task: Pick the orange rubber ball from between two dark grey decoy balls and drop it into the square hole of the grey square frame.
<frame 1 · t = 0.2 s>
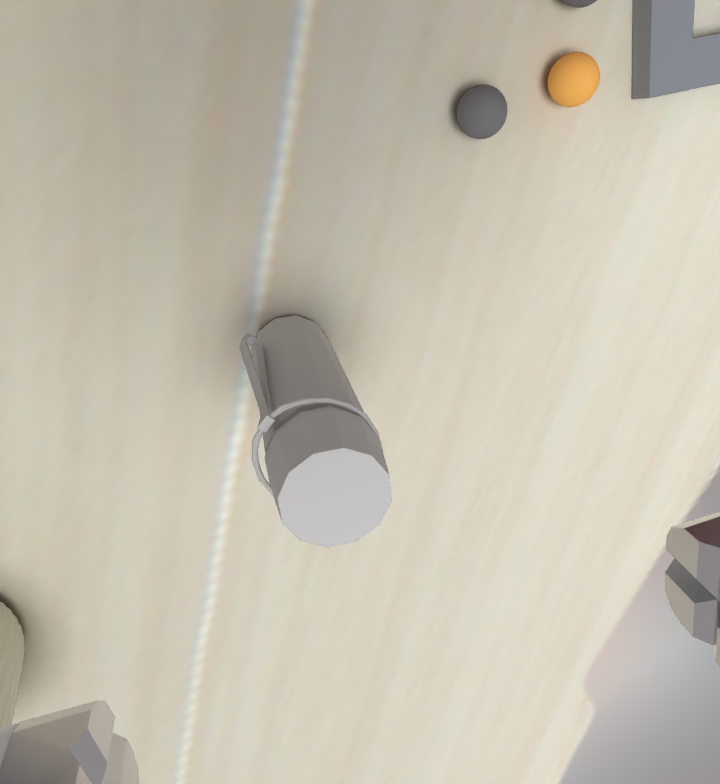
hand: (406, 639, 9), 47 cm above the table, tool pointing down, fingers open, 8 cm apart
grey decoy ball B: (481, 112, 50), point 2 cm above the table
water bottle: (282, 343, 57), on the table
orange ball: (573, 79, 51), point 2 cm above the table
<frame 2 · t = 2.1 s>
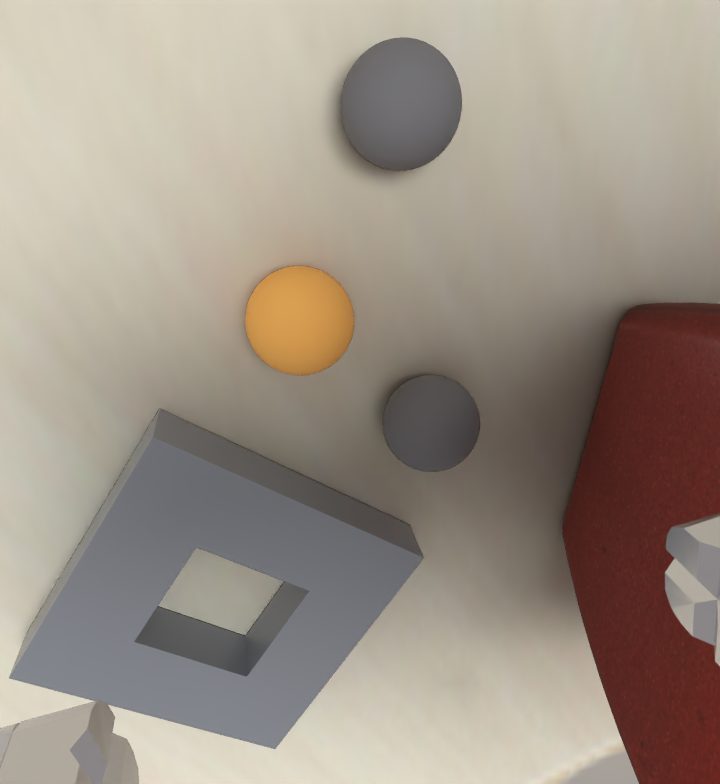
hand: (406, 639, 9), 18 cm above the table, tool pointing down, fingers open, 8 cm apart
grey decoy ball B: (400, 106, 21), point 2 cm above the table
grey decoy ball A: (430, 423, 26), point 2 cm above the table
plant pot: (698, 427, 32), on the table
grey square frame: (223, 577, 29), on the table
orange ball: (300, 321, 23), point 2 cm above the table
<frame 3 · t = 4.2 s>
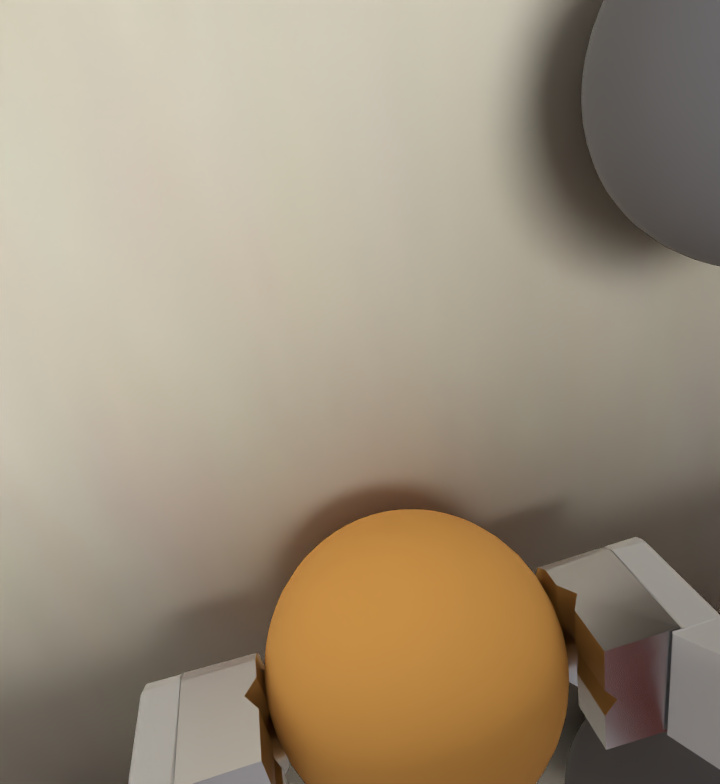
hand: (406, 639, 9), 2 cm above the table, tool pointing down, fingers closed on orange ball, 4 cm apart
orange ball: (413, 659, 8), point 2 cm above the table, touching gripper
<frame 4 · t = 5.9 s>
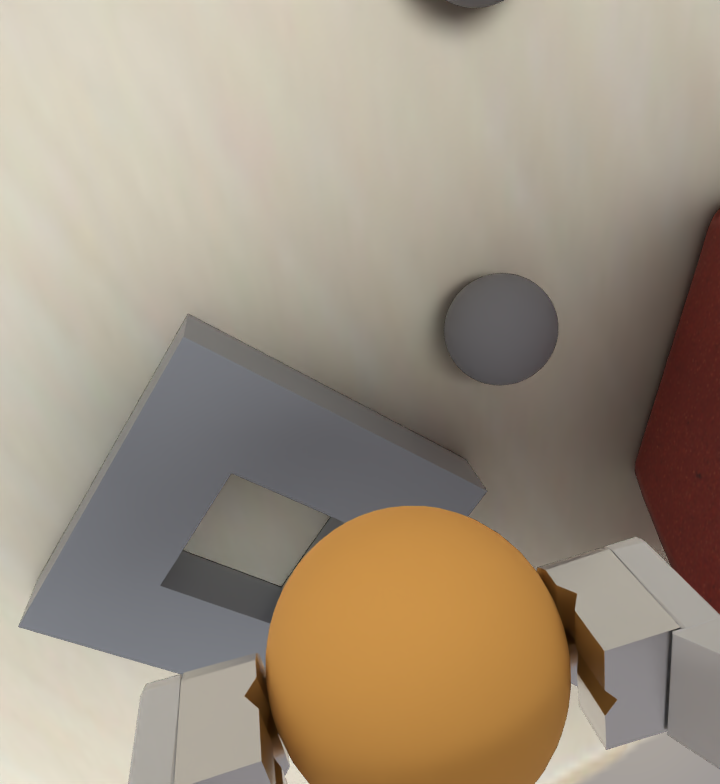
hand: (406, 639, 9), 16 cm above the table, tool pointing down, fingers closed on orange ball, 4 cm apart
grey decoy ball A: (500, 329, 22), point 2 cm above the table
grey square frame: (257, 518, 26), on the table
orange ball: (414, 655, 8), point 16 cm above the table, touching gripper
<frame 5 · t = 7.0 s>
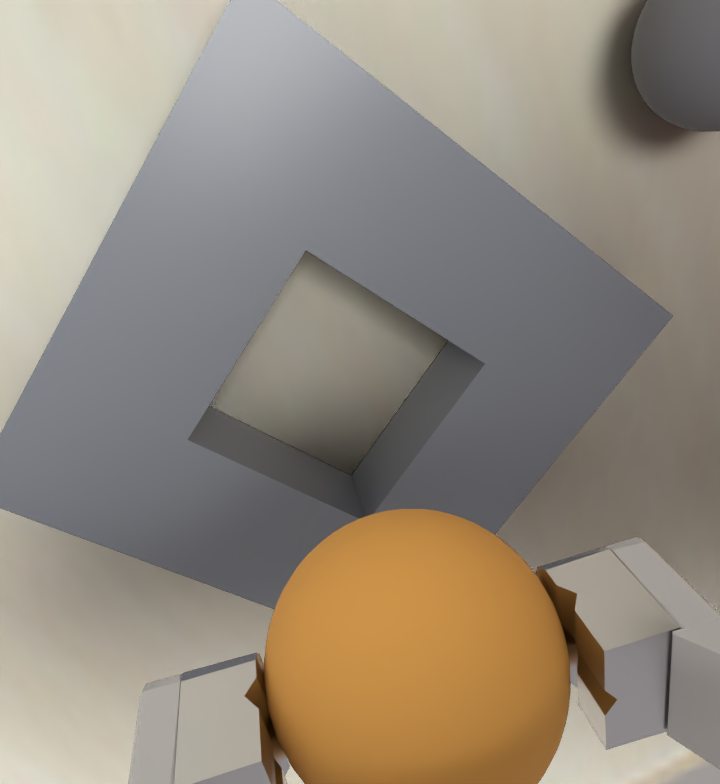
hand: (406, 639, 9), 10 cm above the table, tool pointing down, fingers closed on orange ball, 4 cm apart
grey square frame: (325, 364, 18), on the table
orange ball: (414, 659, 8), point 11 cm above the table, touching gripper
when the fingers open (6 cm above the table, at t = 7.7 s): orange ball drops 4 cm, point 2 cm above the table.
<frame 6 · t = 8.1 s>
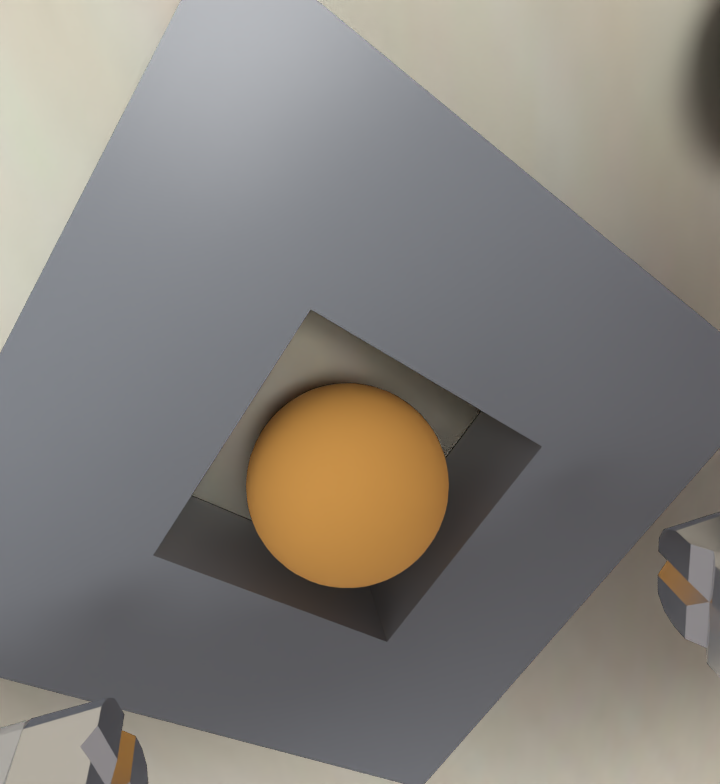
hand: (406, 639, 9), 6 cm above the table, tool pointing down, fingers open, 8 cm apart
grey square frame: (332, 438, 14), on the table
orange ball: (347, 483, 12), point 2 cm above the table
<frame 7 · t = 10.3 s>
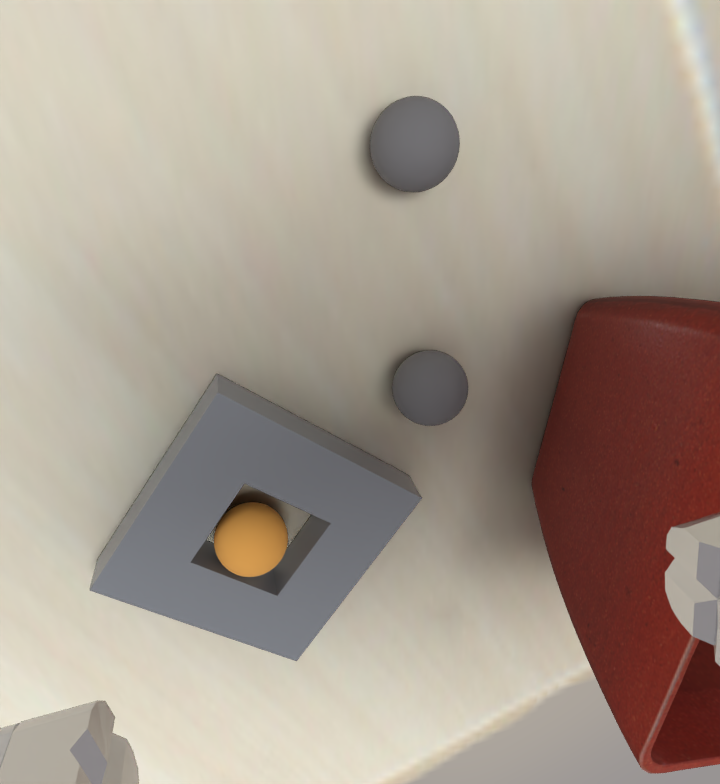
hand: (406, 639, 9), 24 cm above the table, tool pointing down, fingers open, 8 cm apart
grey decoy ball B: (414, 145, 28), point 2 cm above the table
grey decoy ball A: (430, 388, 33), point 2 cm above the table
plant pot: (640, 400, 39), on the table
grey square frame: (258, 516, 36), on the table
orange ball: (251, 539, 34), point 2 cm above the table, tilted 18°
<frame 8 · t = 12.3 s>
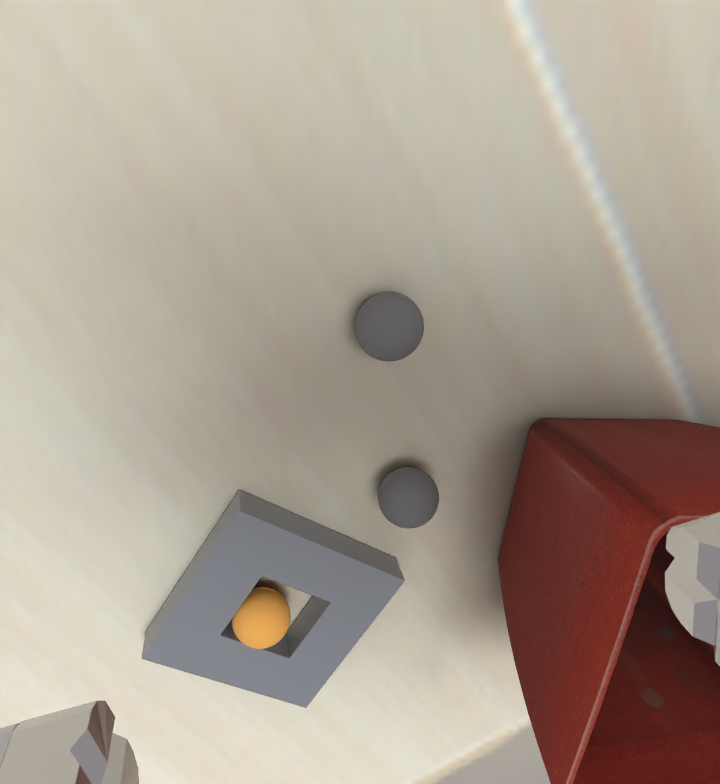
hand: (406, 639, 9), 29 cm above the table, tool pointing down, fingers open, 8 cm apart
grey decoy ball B: (389, 326, 36), point 2 cm above the table
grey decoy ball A: (408, 497, 41), point 2 cm above the table
plant pot: (589, 491, 47), on the table
grey square frame: (273, 593, 45), on the table
orange ball: (261, 617, 43), point 2 cm above the table, tilted 31°
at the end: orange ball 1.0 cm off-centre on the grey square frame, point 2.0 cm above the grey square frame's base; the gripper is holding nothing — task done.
